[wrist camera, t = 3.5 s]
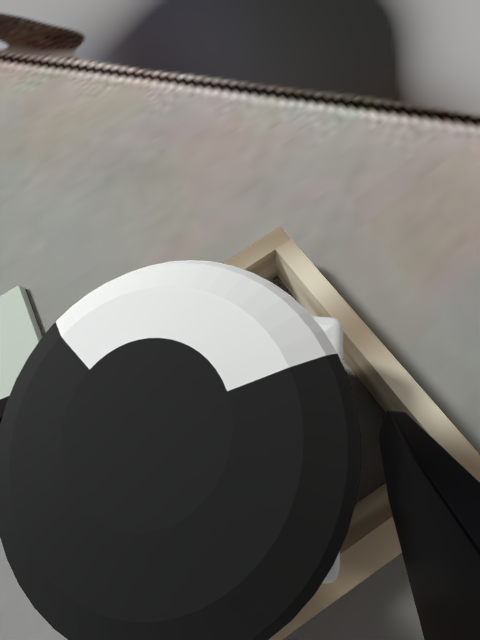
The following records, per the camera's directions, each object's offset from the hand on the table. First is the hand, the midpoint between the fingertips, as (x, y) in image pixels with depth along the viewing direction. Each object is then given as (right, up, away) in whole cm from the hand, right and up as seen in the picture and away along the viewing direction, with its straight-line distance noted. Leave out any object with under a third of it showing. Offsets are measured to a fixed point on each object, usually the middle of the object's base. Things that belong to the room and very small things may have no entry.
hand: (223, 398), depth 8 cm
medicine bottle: (+1, -3, +7) cm, 8 cm away
